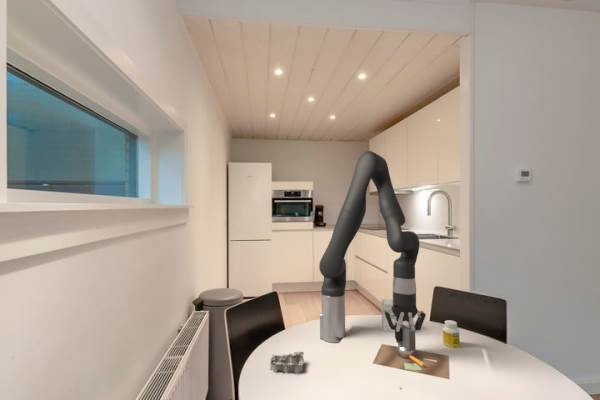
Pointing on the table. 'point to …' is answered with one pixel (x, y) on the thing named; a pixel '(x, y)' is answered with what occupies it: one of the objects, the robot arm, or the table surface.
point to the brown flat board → (432, 361)
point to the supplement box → (387, 306)
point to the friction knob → (407, 344)
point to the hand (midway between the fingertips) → (404, 341)
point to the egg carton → (284, 358)
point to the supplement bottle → (451, 334)
